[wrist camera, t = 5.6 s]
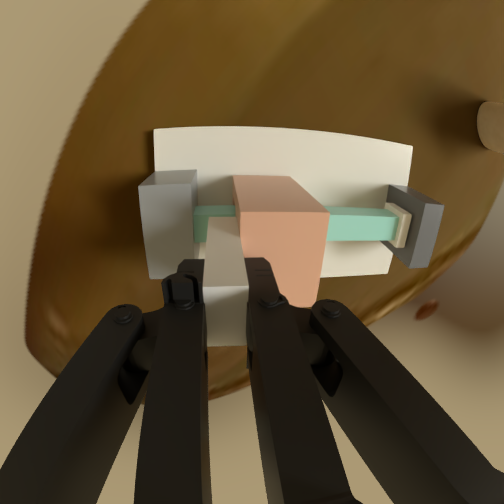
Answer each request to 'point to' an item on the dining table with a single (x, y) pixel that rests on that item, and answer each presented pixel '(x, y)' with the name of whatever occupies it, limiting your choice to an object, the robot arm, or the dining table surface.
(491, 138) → the candle
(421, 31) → the dining table surface
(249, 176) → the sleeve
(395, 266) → the dining table surface
